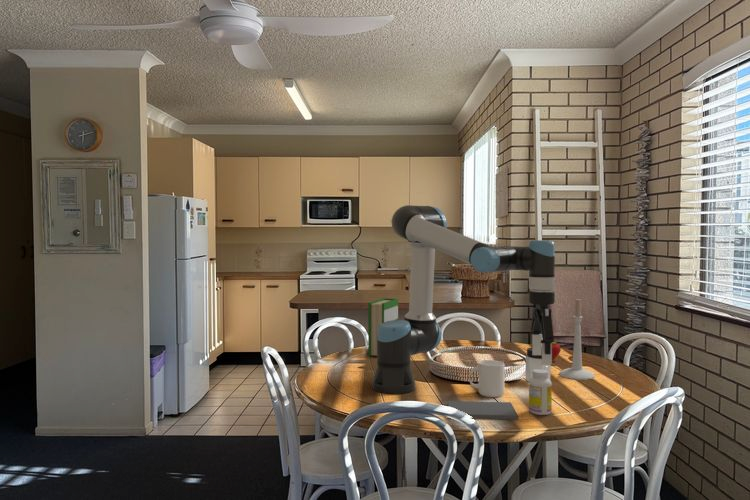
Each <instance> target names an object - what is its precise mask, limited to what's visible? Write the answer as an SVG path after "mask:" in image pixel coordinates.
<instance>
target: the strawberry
mask: <svg viewBox="0 0 750 500" xmlns="http://www.w3.org/2000/svg"><path fill="white" fill-rule="evenodd" d="M561 350H562V348H561V345H559V344H558V342H556V341H554V342H552V361H553V362H554V360H555V359H556V358H557V357H558V356H559V354H560V353H561Z"/></svg>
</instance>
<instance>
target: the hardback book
mask: <svg viewBox="0 0 750 500" xmlns="http://www.w3.org/2000/svg"><path fill="white" fill-rule="evenodd" d="M367 309H368V312H367V313H368V314H367V315H368V321H367V323H368V325H367V327H368V331H367V333H368V335H367V336H368V337H367V338H368V339H367V341H368V342H367V343H368V345H367V347H368V348H367V349H368V352H367V357H369V358H370V357H373V356H376V357H377V332H378V327H379V325H380V324H382V323H384V322H386V321H391V320H392V321H394V320H399V298H386V297H383V298H380V299H376V300H373V301H369V302H368V308H367Z"/></svg>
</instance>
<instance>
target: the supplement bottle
mask: <svg viewBox="0 0 750 500" xmlns="http://www.w3.org/2000/svg"><path fill="white" fill-rule="evenodd" d="M532 374H533V378H531V379H530V381H529V382H528V397H529V398H528V405H529V406H528V409H529V412H530V413H532V414H533V415H538V416H548V415H550V414H552V397H553V396H552V395H553V394H552V391H553V390H552V386H553V383H552V381H551V379H550V380H549V379H548V371H547V370H542V369H535V370H533V373H532Z"/></svg>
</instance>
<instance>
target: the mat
mask: <svg viewBox="0 0 750 500" xmlns="http://www.w3.org/2000/svg"><path fill="white" fill-rule="evenodd" d="M448 406H451V407H454V408H456V409H458V410H460V411H463V412H465V413H467V414H468V415H470V416H472V417H473V418H474V420H477V419H480V420H481V419H482V420H515V421H516V420H517V421H518V420H519V415H518V412H517V411H516V409H515V408H514V406H513V404H512V402H511V401H509V402H508V401H507V402H506V401H475V400H473V401H469V400H467V401H465V400H463V401H462V400H447V407H448ZM473 418H472V419H473Z"/></svg>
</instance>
